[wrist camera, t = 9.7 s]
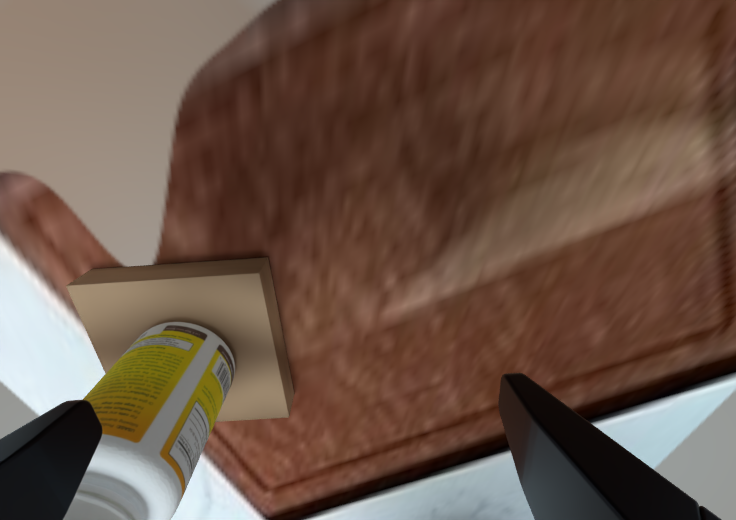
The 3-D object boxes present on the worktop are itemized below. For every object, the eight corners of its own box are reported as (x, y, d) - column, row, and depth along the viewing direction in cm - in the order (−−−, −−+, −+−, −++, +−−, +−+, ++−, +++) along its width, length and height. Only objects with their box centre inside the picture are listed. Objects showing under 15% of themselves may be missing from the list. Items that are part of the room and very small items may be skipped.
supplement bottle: (117, 350, 21) (-80, 559, 12) (184, 298, 20) (24, 486, 10) (192, 409, 23) (75, 629, 13) (259, 365, 21) (180, 575, 12)
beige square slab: (294, 393, 25) (289, 417, 23) (146, 402, 25) (129, 426, 23) (268, 257, 21) (259, 273, 19) (91, 269, 21) (65, 286, 19)
